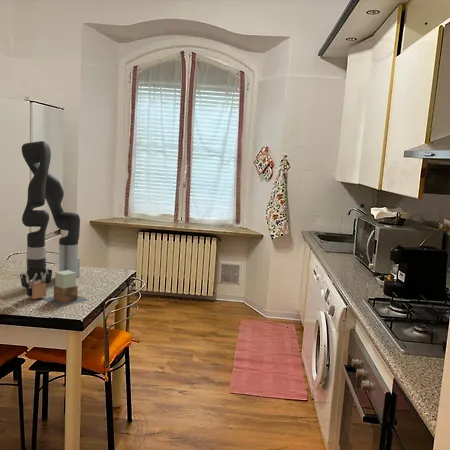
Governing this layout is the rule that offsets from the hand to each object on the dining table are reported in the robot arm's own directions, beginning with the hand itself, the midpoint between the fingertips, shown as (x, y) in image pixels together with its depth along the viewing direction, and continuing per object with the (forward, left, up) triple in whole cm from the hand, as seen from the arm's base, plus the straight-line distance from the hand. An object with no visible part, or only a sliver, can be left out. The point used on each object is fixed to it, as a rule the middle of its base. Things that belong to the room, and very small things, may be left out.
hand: (36, 294), depth 199 cm
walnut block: (-8, +10, -1) cm, 13 cm away
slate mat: (-8, +10, -2) cm, 13 cm away
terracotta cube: (0, 0, -1) cm, 1 cm away
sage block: (-8, +10, +5) cm, 13 cm away
